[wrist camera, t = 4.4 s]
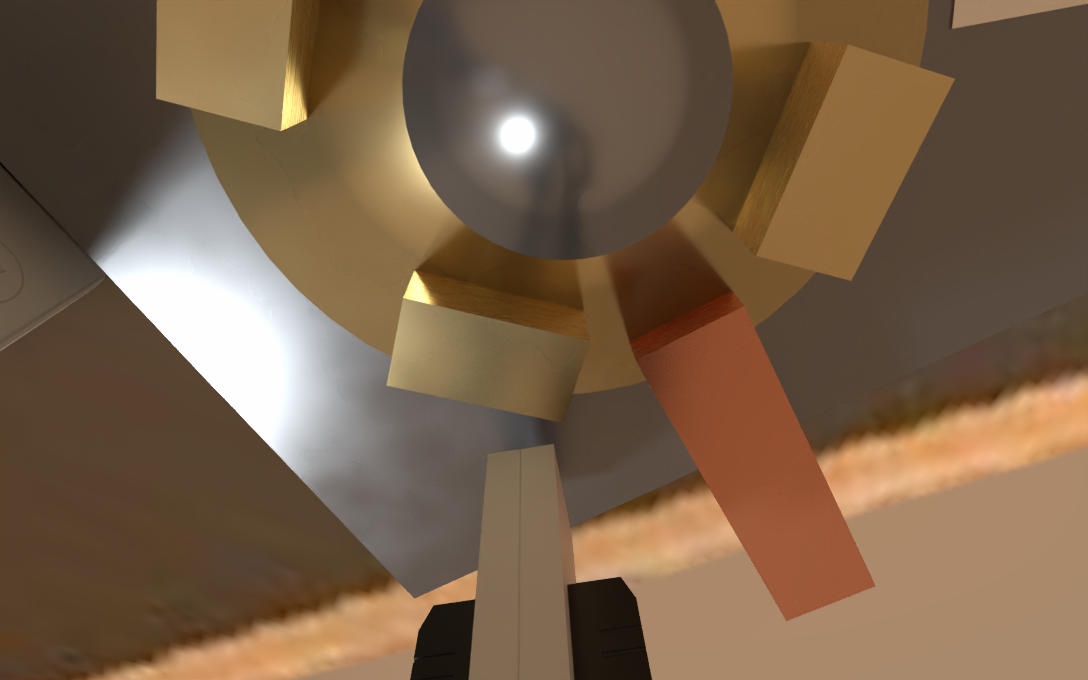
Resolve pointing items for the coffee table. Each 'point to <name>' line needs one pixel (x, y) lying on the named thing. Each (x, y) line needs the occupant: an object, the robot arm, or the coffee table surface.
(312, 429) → the flange plate
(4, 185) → the small box
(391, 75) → the gold tabbed disc
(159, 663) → the coffee table surface
